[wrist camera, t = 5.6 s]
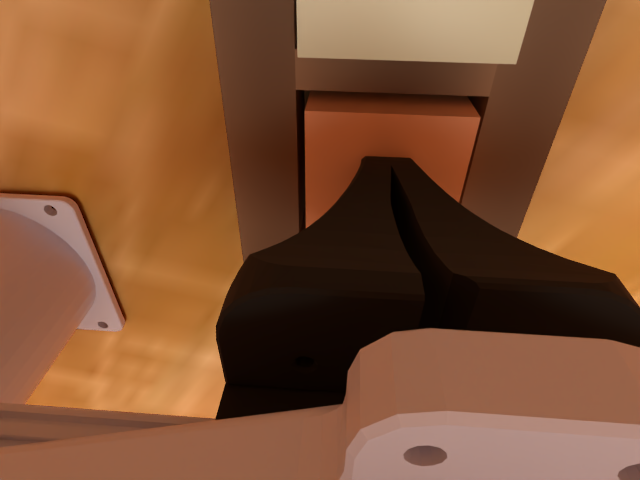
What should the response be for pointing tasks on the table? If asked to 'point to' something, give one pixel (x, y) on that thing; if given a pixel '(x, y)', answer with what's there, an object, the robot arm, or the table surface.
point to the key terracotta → (384, 139)
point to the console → (388, 77)
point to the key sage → (413, 30)
